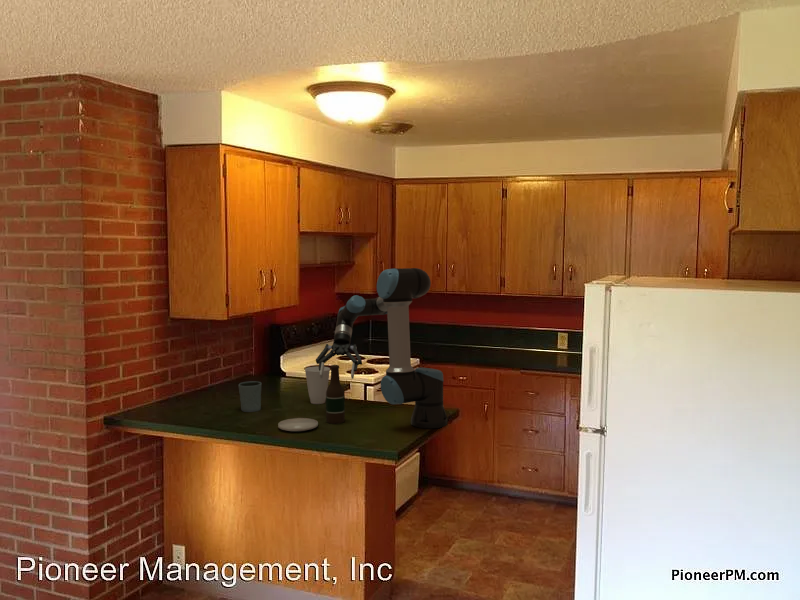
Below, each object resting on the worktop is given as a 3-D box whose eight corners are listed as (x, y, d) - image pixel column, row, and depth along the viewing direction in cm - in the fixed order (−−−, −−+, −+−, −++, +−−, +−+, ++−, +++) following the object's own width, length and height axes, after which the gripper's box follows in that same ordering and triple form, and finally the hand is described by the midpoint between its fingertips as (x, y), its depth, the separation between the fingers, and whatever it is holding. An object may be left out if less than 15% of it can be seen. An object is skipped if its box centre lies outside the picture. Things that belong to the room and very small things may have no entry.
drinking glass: (266, 408, 312) (266, 382, 311) (250, 413, 304) (249, 386, 303) (250, 406, 318) (250, 380, 317) (234, 410, 310) (233, 384, 309)
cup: (313, 406, 317) (312, 372, 315) (300, 401, 326) (300, 368, 325) (335, 402, 324) (334, 369, 322) (322, 398, 333) (322, 365, 332)
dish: (323, 430, 276) (323, 425, 276) (284, 435, 270) (283, 430, 269) (311, 421, 291) (311, 416, 291) (274, 425, 284) (273, 420, 284)
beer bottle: (348, 421, 290) (348, 365, 288) (335, 425, 284) (334, 367, 282) (336, 418, 295) (335, 362, 293) (322, 421, 290) (321, 365, 288)
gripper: (371, 342, 310) (366, 382, 297) (316, 341, 313) (309, 381, 300) (369, 332, 305) (364, 372, 291) (314, 331, 307) (306, 371, 294)
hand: (336, 376), depth 295 cm, fingers open, 13 cm apart
